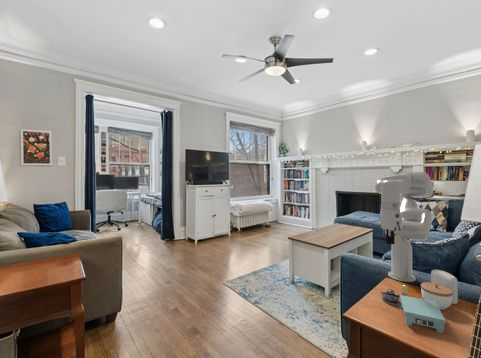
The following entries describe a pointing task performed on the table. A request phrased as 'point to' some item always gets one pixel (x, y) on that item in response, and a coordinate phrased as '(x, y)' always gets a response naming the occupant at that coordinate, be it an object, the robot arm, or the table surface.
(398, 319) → the table surface
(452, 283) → the photo printer
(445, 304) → the lidded jar
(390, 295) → the cross handle valve
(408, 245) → the robot arm
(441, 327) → the spoked knob panel
